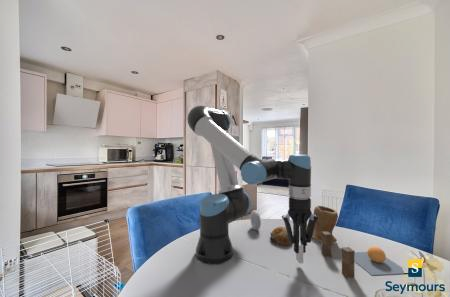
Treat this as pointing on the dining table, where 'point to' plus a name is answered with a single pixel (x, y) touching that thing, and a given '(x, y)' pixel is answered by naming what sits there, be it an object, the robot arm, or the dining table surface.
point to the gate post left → (327, 244)
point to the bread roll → (280, 236)
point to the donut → (255, 220)
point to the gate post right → (348, 262)
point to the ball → (376, 254)
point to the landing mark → (377, 265)
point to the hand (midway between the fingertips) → (299, 261)
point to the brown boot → (324, 222)
